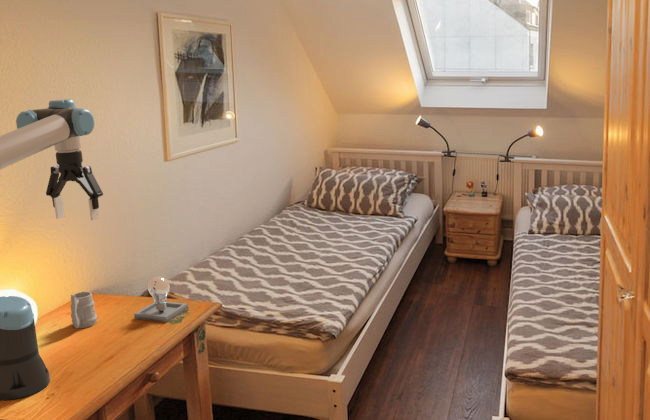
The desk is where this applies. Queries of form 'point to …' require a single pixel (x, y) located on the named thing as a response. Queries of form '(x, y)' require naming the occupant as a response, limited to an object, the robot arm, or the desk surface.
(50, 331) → the desk surface
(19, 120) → the robot arm
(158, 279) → the light bulb
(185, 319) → the desk surface
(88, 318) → the mug
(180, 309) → the dish
